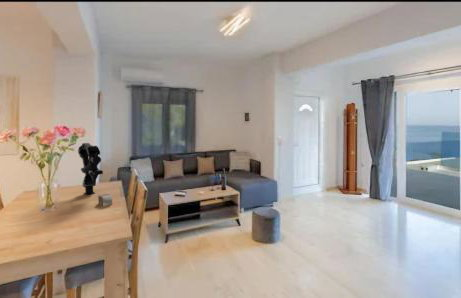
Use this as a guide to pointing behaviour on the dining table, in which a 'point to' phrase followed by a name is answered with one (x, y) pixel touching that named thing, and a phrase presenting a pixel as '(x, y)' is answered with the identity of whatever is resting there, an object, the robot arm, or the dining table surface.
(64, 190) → the dining table surface
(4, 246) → the dining table surface
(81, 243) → the dining table surface
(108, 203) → the polished metal block
